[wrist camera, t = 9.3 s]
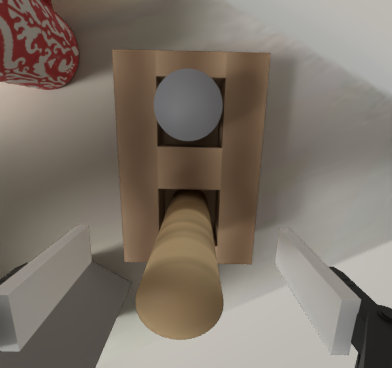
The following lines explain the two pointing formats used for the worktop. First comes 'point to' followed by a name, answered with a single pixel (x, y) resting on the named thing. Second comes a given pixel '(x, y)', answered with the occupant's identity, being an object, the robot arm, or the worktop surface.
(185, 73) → the charcoal dowel
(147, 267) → the oak dowel
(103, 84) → the worktop surface
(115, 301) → the perfume bottle
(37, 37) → the mug
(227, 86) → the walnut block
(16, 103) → the worktop surface
